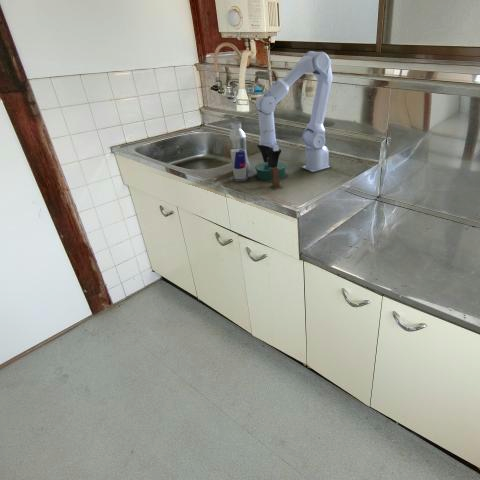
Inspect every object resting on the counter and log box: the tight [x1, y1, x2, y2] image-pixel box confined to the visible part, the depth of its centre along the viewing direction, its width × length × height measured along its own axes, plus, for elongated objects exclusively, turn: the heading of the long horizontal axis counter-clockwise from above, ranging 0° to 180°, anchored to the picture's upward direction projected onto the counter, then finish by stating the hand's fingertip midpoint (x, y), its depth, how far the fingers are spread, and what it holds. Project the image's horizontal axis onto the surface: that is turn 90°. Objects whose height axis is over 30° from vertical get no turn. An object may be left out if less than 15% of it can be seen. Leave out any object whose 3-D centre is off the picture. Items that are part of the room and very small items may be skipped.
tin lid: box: [254, 157, 287, 172], centre depth 143 cm, size 12×12×4 cm
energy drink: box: [230, 148, 249, 182], centre depth 140 cm, size 5×5×12 cm
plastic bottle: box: [229, 121, 251, 172], centre depth 146 cm, size 6×7×20 cm
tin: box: [256, 168, 286, 181], centre depth 145 cm, size 11×11×4 cm
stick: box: [271, 167, 281, 189], centre depth 134 cm, size 2×2×8 cm
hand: (270, 164), depth 143 cm, fingers open, 7 cm apart
